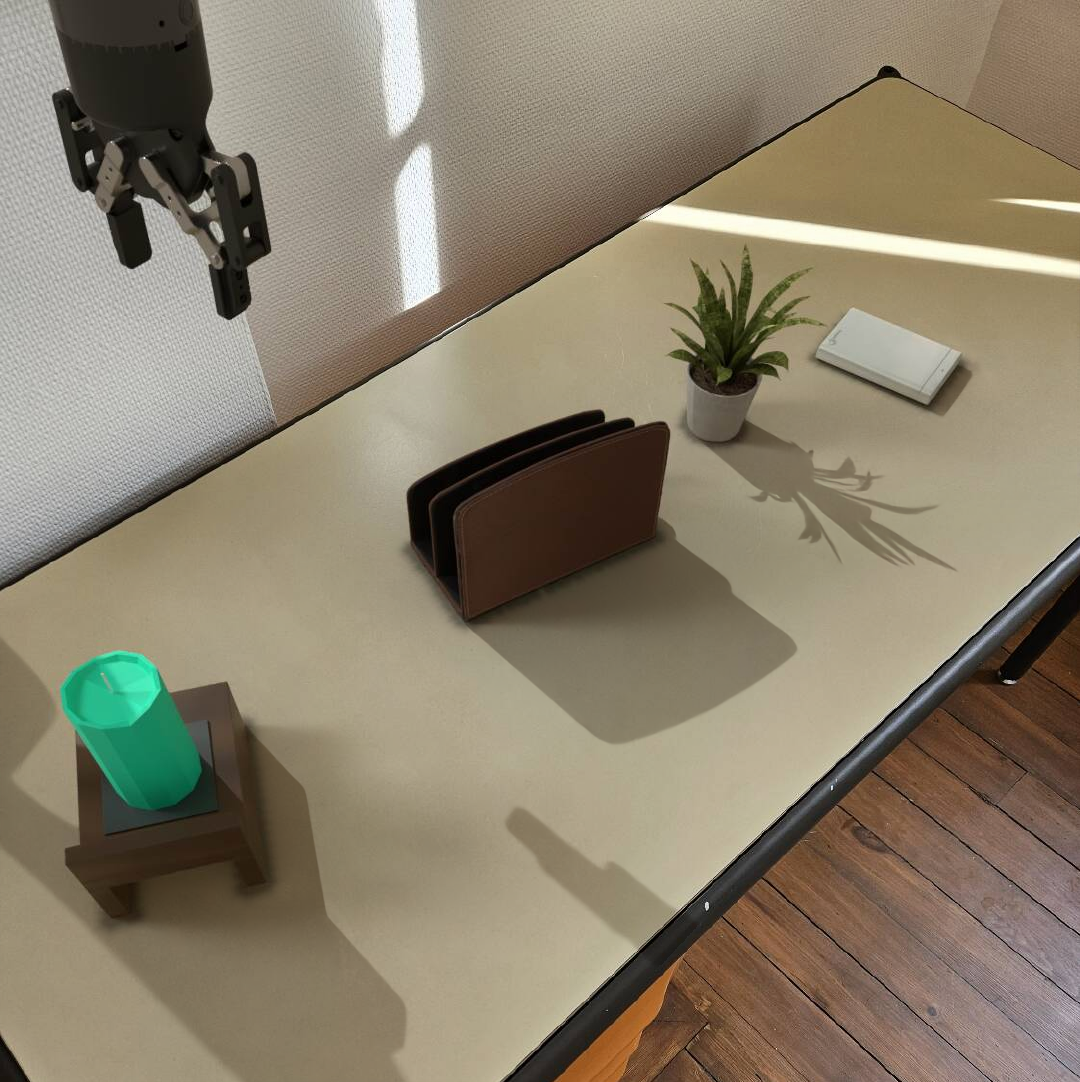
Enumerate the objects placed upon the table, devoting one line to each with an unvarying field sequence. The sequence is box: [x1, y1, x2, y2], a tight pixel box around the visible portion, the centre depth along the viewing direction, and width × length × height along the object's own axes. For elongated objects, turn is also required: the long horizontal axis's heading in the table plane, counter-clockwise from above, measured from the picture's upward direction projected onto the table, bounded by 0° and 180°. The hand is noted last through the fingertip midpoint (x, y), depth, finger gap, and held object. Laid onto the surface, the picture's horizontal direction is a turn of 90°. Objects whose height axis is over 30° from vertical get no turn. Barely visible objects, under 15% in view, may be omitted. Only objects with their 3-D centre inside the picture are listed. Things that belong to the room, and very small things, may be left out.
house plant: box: [663, 243, 829, 443], centre depth 97 cm, size 14×14×16 cm
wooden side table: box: [63, 680, 267, 919], centre depth 75 cm, size 14×11×9 cm
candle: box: [59, 649, 202, 811], centre depth 69 cm, size 6×6×12 cm
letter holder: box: [405, 408, 671, 622], centre depth 89 cm, size 10×20×14 cm, turn 121°
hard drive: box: [814, 307, 963, 406], centre depth 108 cm, size 2×8×12 cm
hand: (185, 287), depth 69 cm, fingers open, 8 cm apart
